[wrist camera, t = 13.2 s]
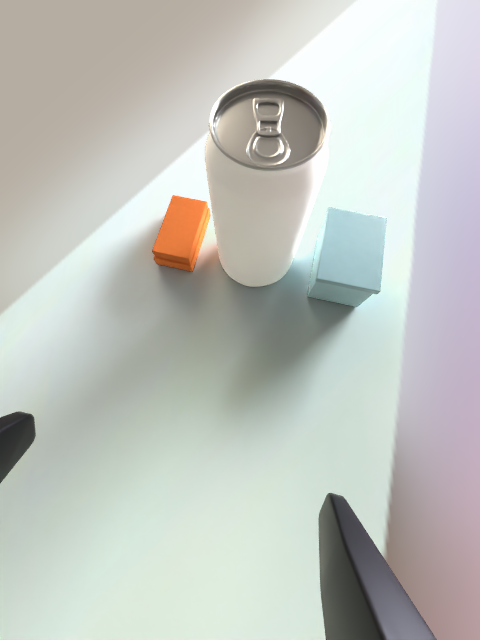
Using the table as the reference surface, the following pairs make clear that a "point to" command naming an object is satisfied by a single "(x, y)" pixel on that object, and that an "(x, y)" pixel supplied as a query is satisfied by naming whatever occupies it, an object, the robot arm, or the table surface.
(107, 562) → the table surface
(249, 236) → the can
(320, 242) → the box
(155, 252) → the orange rectangular block
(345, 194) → the table surface
